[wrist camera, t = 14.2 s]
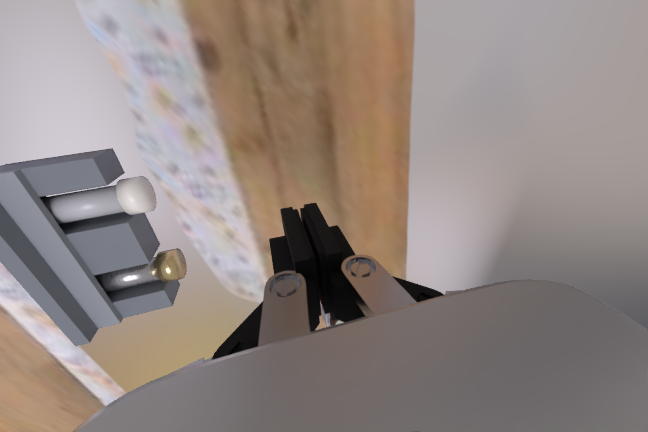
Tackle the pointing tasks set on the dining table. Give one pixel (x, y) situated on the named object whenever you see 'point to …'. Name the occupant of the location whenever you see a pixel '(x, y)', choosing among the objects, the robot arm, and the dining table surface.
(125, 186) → the light grey capped cylinder
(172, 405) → the robot arm
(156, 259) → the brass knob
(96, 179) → the mount
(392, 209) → the dining table surface
